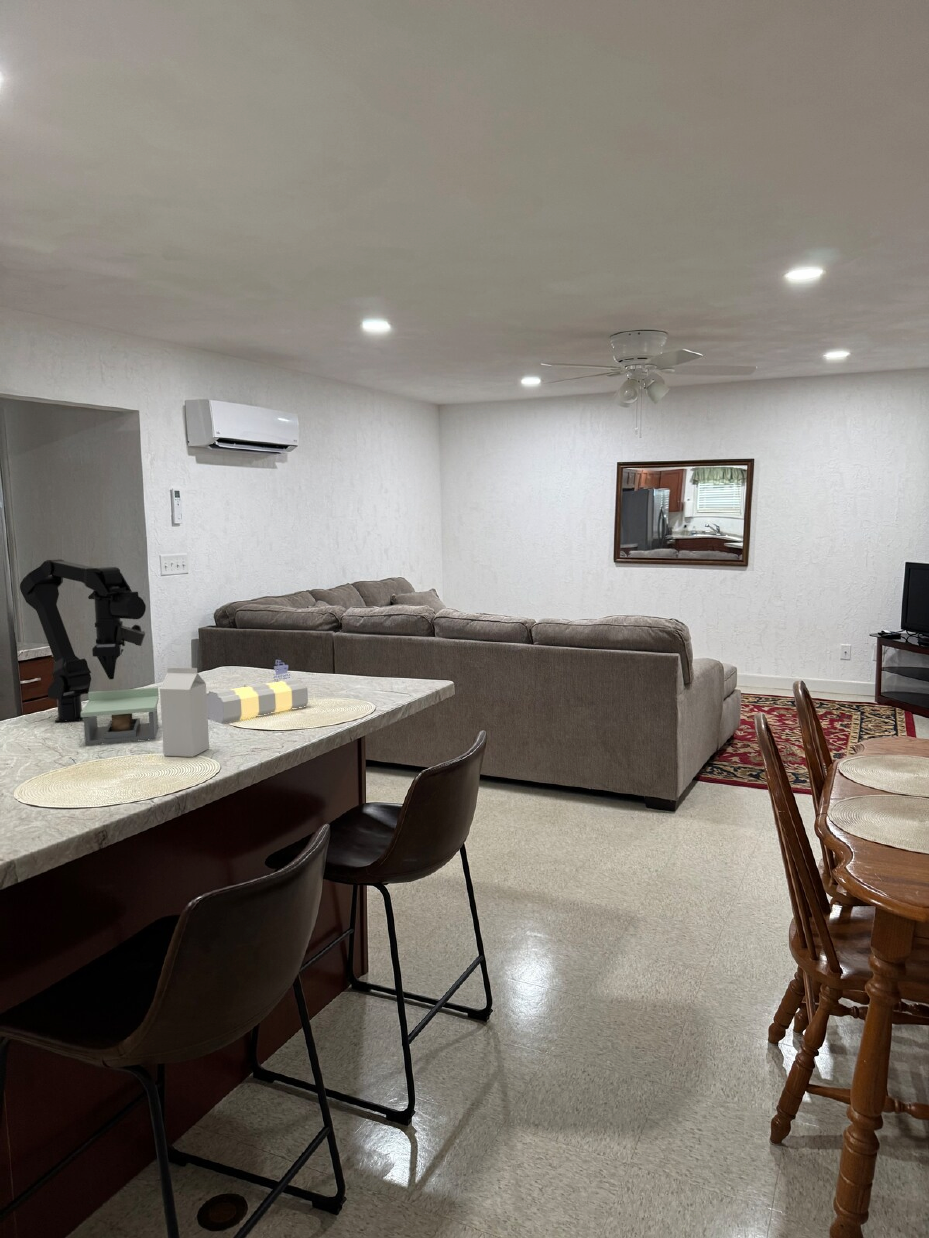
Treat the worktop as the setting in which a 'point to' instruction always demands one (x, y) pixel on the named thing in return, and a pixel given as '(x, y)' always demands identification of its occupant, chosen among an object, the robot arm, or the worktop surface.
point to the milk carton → (184, 713)
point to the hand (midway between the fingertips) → (111, 679)
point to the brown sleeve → (120, 722)
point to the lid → (121, 702)
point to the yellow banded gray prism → (257, 698)
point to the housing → (107, 736)
